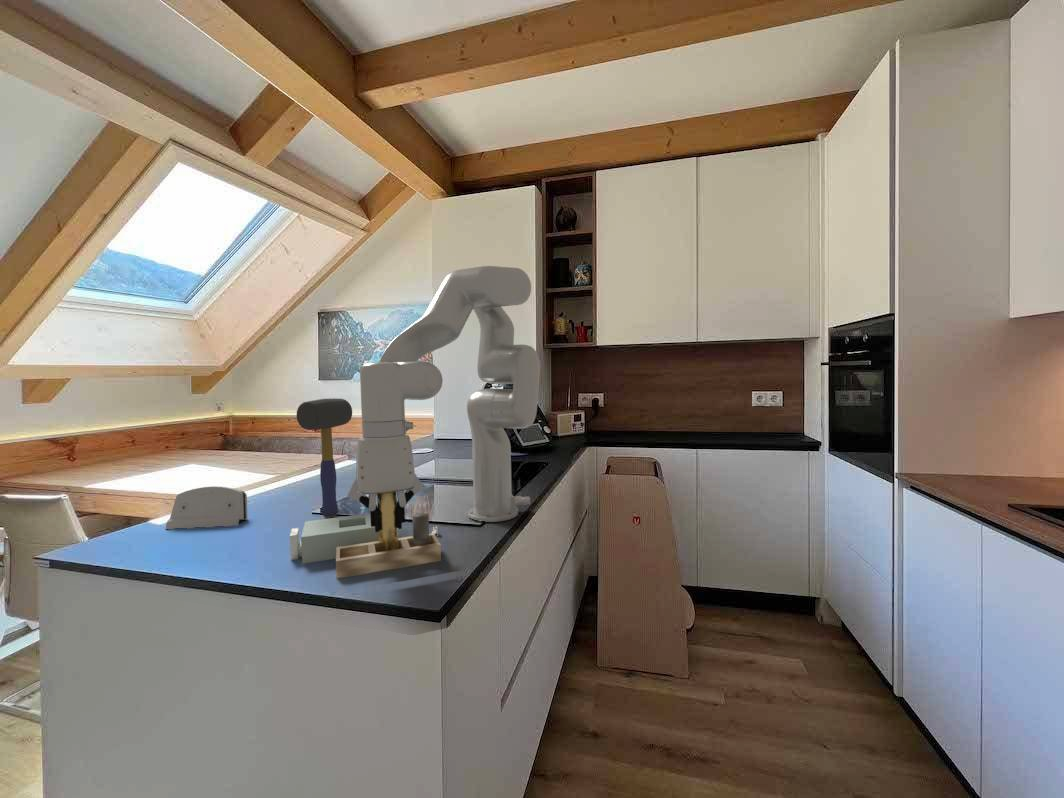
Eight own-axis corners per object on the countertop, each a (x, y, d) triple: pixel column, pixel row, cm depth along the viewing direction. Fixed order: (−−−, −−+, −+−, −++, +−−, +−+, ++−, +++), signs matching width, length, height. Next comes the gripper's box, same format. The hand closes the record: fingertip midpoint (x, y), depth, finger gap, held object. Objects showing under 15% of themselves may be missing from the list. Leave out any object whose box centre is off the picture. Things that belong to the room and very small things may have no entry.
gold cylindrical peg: (397, 555, 90) (395, 487, 89) (399, 561, 87) (397, 492, 86) (379, 558, 89) (376, 490, 88) (380, 564, 85) (377, 494, 85)
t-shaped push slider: (337, 548, 97) (336, 522, 96) (337, 556, 92) (336, 529, 92) (293, 555, 93) (292, 528, 93) (291, 563, 89) (289, 535, 89)
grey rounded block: (163, 529, 112) (170, 487, 114) (175, 530, 116) (181, 489, 119) (238, 525, 114) (243, 483, 116) (248, 526, 118) (252, 485, 121)
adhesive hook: (439, 543, 101) (439, 528, 100) (427, 544, 100) (426, 529, 100) (439, 538, 104) (439, 524, 103) (427, 539, 103) (427, 525, 103)
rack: (434, 552, 94) (433, 508, 94) (441, 565, 88) (439, 518, 87) (337, 568, 88) (335, 520, 87) (336, 583, 81) (334, 532, 80)
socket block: (377, 539, 102) (376, 512, 102) (381, 556, 93) (380, 526, 92) (306, 550, 97) (305, 521, 97) (302, 568, 88) (301, 537, 87)
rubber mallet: (322, 526, 112) (316, 400, 110) (298, 523, 114) (292, 400, 112) (359, 511, 123) (354, 397, 121) (336, 508, 126) (331, 397, 124)
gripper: (426, 425, 93) (429, 516, 94) (335, 430, 86) (340, 528, 88) (433, 429, 86) (436, 528, 87) (335, 435, 80) (340, 542, 81)
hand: (388, 527), depth 87 cm, fingers closed on gold cylindrical peg, 3 cm apart
